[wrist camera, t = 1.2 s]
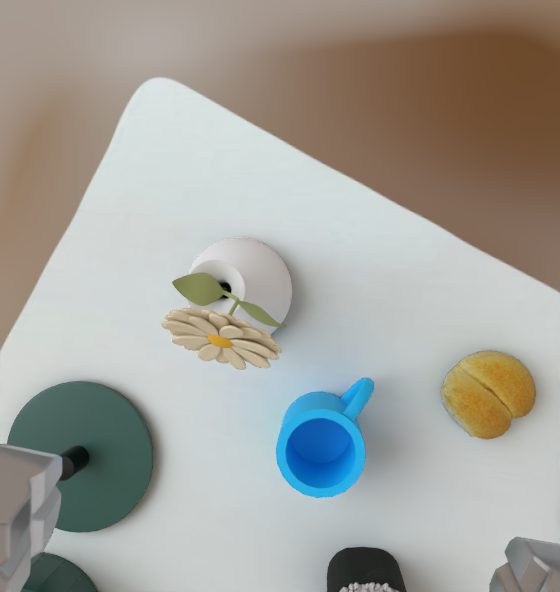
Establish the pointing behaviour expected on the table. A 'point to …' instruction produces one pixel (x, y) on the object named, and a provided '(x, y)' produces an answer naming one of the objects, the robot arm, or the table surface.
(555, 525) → the table surface
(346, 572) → the sushi
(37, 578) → the pot
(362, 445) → the mug
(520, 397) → the bread roll
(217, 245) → the flower in vase
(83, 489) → the lid
